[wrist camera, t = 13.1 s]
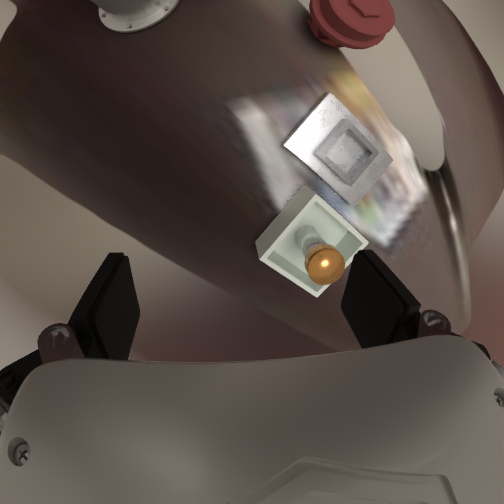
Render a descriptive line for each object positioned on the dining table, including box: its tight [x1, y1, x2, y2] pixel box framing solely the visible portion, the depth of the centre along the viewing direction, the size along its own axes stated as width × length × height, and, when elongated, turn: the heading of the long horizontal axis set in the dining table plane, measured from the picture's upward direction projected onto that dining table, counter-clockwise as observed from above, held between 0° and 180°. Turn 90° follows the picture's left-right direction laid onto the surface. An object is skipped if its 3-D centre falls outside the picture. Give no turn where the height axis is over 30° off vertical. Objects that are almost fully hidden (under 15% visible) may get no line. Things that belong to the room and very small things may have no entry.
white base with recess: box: [282, 93, 393, 208], centre depth 35 cm, size 14×10×4 cm
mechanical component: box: [308, 0, 395, 49], centre depth 22 cm, size 12×10×10 cm
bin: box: [255, 184, 369, 297], centre depth 40 cm, size 11×11×6 cm
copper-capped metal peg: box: [294, 225, 345, 285], centre depth 37 cm, size 5×5×10 cm
